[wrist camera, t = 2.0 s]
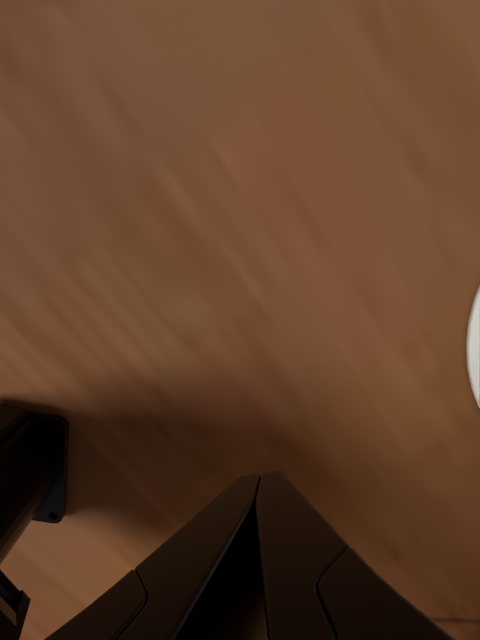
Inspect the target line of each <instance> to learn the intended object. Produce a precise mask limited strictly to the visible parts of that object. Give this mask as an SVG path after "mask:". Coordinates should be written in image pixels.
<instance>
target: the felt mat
mask: <svg viewBox="0 0 480 640" xmlns="http://www.w3.org/2000/svg"><path fill="white" fill-rule="evenodd" d="M466 361H467V370H468V375H469V380H470V385H471V389H472V391H473V394H474V397H475V400H476V402H477V405H478V407H479V409H480V284H479V287H478V290H477V292H476V295H475V298H474V300H473V304H472V308H471V313H470V317H469V321H468V328H467V338H466Z"/></svg>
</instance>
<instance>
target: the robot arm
mask: <svg viewBox="0 0 480 640" xmlns="http://www.w3.org/2000/svg"><path fill="white" fill-rule="evenodd" d="M55 424H57V425H59V426H60V428H61V429H58V428H56V427H55ZM68 429H69V425H68V422H67V420H66V419H65V418H63V417H60V416H55V415H48V414H42V413H35V412H29V411H25V410H24V409H20V408H13V407H7V406H0V564H1V563H2V561H3V560H4V559H5V557H6V556H7V554H8V553H9V551H10V550H11V549H12V547H13V546H14V544H15V543H16V541H17V540H18V538H19V537H20V536H21V534H22V533H23V531H24V530H25V528H26V527H27V526H28V524H29V523H30V521H31V520H35V521H42V522H48V523H58V522H60V521H61V520H62V518H63V517H64V515H65V508H66V482H67V455H68ZM53 512H55V513H56V514H57V515H56V514H54V513H53ZM29 604H30V598H29V597H28V596H27V595H26V593H25V592H24V591H23V590H21V591H19V590H18V589H17V588H16V586H15V585H14V584H13V583H12V582H11V581H10V580H9V579H8V578H7V576H6V575H5V574H4V573H3V572H2V571H1V570H0V640H19V638H20V635H21V631H22V628H23V624H24V621H25V617H26V614H27V611H28V607H29ZM267 638H268V640H456V639H455V638H453V637H452V636H451V635H450V634H448V633H447V632H446V631H445V630H443V629H442V628H441V627H440V626H438V625H437V624H436V623H435V622H434V621H432V620H431V619H430V618H429V617H427V616H426V615H425V614H424V613H422V612H421V611H420V610H419V609H417V608H416V607H415V606H414V605H413V604H411V603H410V602H409V601H408V600H406V599H405V598H404V597H403V596H402V595H401V594H399V593H398V592H397V591H396V590H395V589H394V588H392V587H391V586H390V585H389V584H388V583H387V582H386V581H384V580H383V579H382V578H381V577H380V576H379V575H378V574H377V573H376V572H375V571H374V570H373V569H372V568H371V567H370V566H369V565H368V564H367V563H366V562H365V561H364V560H363V559H362V558H361V557H360V556H359V555H358V554H357V552H356V551H355V550H354V549H353V548H351V547H350V546H349V545H348V544H347V543H346V541H345V540H344V539H343V538H342V537H341V536H340V535H339V534H338V533H337V532H336V531H335V530H334V528H333V527H332V526H331V525H330V524H329V523H328V522H327V521H326V520H325V519H324V518H323V517H322V515H321V514H320V513H319V512H318V511H317V510H316V509H315V508H314V507H313V506H312V505H311V504H310V502H309V501H308V500H307V499H306V498H305V497H304V496H303V495H302V494H301V493H300V492H299V491H298V489H297V488H296V487H295V486H294V485H293V484H292V483H291V482H290V481H289V480H288V479H287V478H286V476H285V475H284V474H283V473H282V472H280V471H276V472H268V473H263V474H262V475H261V476H260V475H259V474H252V475H244V476H241V477H240V478H238V479H237V480H236V481H235V482H234V483H233V484H231V485H230V486H229V487H228V488H227V489H226V490H225V491H223V492H222V493H221V494H220V495H219V496H218V497H216V498H215V499H214V500H213V501H212V502H211V503H210V504H208V505H207V506H206V507H205V508H204V509H203V510H201V511H200V512H199V513H198V514H197V515H196V516H195V517H193V518H192V519H191V520H190V521H189V522H188V523H186V524H185V525H184V526H183V527H182V528H181V529H180V530H178V531H177V532H176V533H175V534H174V535H173V536H171V537H170V538H169V539H168V540H167V541H166V542H165V543H163V544H162V545H161V546H160V547H159V548H158V549H156V550H155V551H154V552H153V553H152V554H151V555H149V556H148V557H147V558H146V559H145V560H144V561H143V562H141V563H140V564H139V565H138V566H137V567H136V568H135V570H131V571H130V572H129V573H128V574H126V575H125V576H124V577H123V578H122V579H121V580H119V581H118V582H117V583H116V584H115V585H114V586H112V587H111V588H110V589H109V590H108V591H106V592H105V593H104V594H103V595H101V596H100V597H99V598H98V599H97V600H95V601H94V602H93V603H92V604H91V605H89V606H88V607H87V608H85V609H84V610H83V611H82V612H80V613H79V614H78V615H76V616H75V617H74V618H72V619H71V620H70V621H68V622H67V623H66V624H65V625H63V626H62V627H61V628H59V629H58V630H57V631H55V632H54V633H53V634H51V635H50V636H49V637H47V638H46V639H45V640H267Z"/></svg>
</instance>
